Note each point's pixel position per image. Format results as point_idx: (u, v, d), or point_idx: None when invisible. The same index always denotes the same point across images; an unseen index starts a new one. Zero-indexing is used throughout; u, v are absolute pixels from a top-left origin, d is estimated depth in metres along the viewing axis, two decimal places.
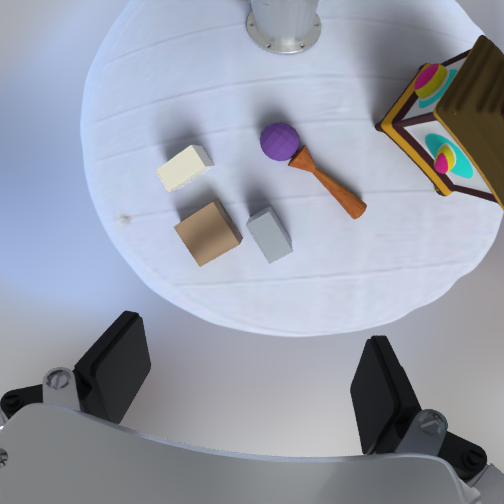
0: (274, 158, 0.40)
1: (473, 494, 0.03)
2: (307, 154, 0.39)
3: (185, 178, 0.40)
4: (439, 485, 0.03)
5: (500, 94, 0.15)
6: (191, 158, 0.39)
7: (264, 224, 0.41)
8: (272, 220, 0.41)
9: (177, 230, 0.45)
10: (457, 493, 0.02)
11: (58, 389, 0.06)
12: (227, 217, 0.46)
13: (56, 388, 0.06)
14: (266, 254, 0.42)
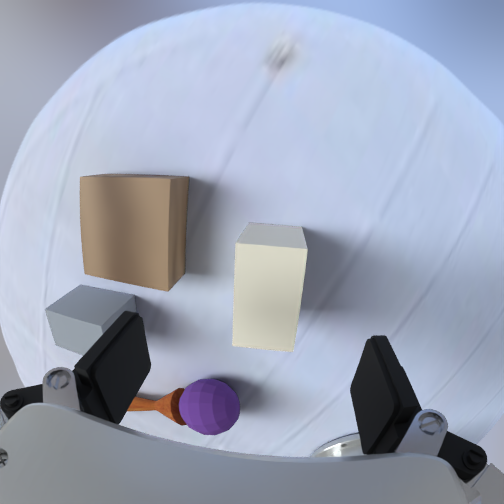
0: (186, 398, 0.23)
1: (473, 494, 0.03)
2: None
3: (236, 299, 0.17)
4: (439, 485, 0.03)
5: None
6: (267, 336, 0.17)
7: None
8: None
9: (159, 182, 0.17)
10: (457, 493, 0.02)
11: (58, 389, 0.06)
12: None
13: (56, 388, 0.06)
14: (56, 316, 0.19)
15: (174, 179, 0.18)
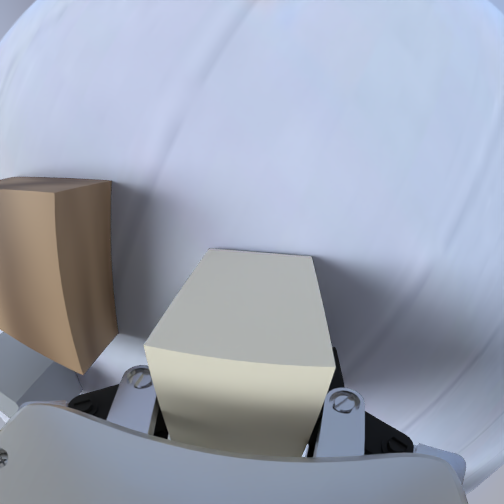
0: None
1: None
2: None
3: (173, 431, 0.07)
4: (439, 485, 0.03)
5: None
6: None
7: None
8: None
9: (40, 198, 0.07)
10: (457, 493, 0.02)
11: (137, 388, 0.07)
12: None
13: (136, 386, 0.07)
14: None
15: (67, 191, 0.08)
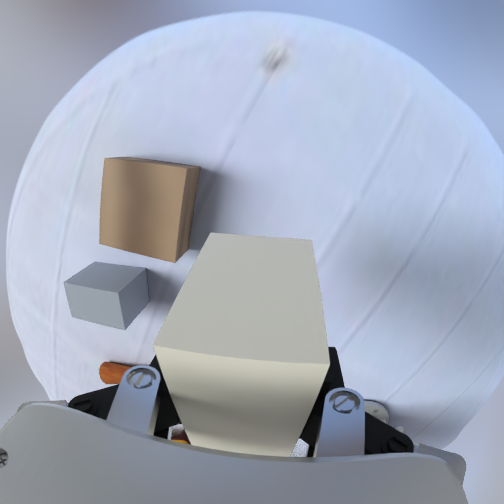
0: None
1: None
2: None
3: (183, 414, 0.08)
4: (439, 485, 0.03)
5: None
6: (245, 448, 0.09)
7: (110, 313, 0.23)
8: (112, 325, 0.24)
9: (176, 170, 0.21)
10: (457, 493, 0.02)
11: (137, 388, 0.07)
12: None
13: (135, 386, 0.07)
14: (75, 288, 0.23)
15: (189, 168, 0.21)
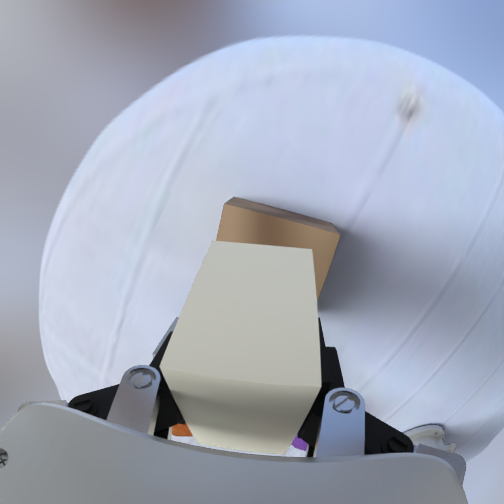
0: None
1: None
2: None
3: (188, 417, 0.08)
4: (439, 485, 0.03)
5: None
6: (245, 445, 0.09)
7: None
8: None
9: (328, 235, 0.18)
10: (457, 493, 0.02)
11: (137, 388, 0.07)
12: None
13: (135, 386, 0.07)
14: None
15: (338, 233, 0.19)
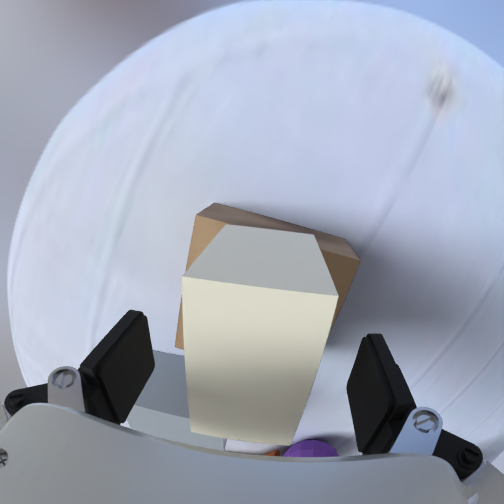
0: None
1: (469, 492, 0.03)
2: None
3: (191, 374, 0.08)
4: (439, 485, 0.03)
5: None
6: (248, 427, 0.09)
7: (202, 439, 0.15)
8: None
9: (343, 261, 0.13)
10: (457, 493, 0.02)
11: (63, 388, 0.06)
12: None
13: (61, 387, 0.06)
14: (140, 409, 0.15)
15: (356, 257, 0.13)
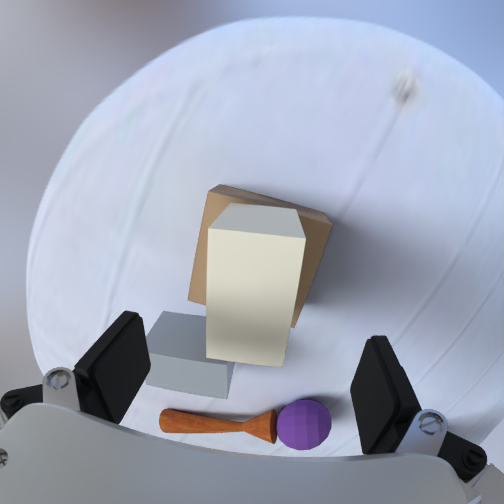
0: (291, 421, 0.24)
1: (473, 494, 0.03)
2: (265, 440, 0.25)
3: (210, 301, 0.13)
4: (439, 485, 0.03)
5: None
6: (249, 348, 0.13)
7: (209, 384, 0.20)
8: (210, 395, 0.20)
9: (319, 225, 0.17)
10: (457, 493, 0.02)
11: (58, 389, 0.06)
12: None
13: (56, 388, 0.06)
14: (156, 357, 0.19)
15: (330, 223, 0.18)
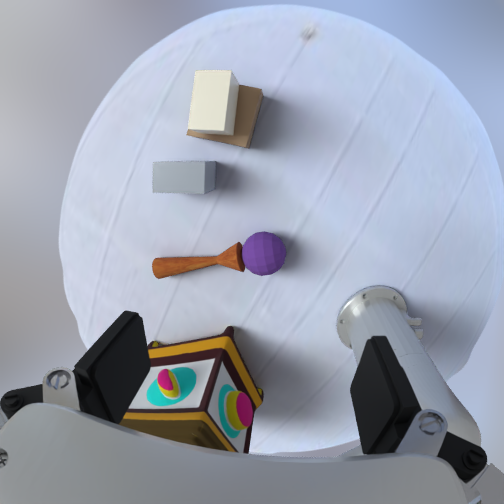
0: (251, 239, 0.37)
1: (473, 494, 0.03)
2: (233, 268, 0.38)
3: (193, 98, 0.26)
4: (439, 485, 0.03)
5: None
6: (208, 120, 0.27)
7: (193, 180, 0.33)
8: (193, 191, 0.33)
9: (254, 89, 0.31)
10: (457, 493, 0.02)
11: (58, 389, 0.06)
12: None
13: (56, 388, 0.06)
14: (163, 164, 0.33)
15: (261, 90, 0.31)
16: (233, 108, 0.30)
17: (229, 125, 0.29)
